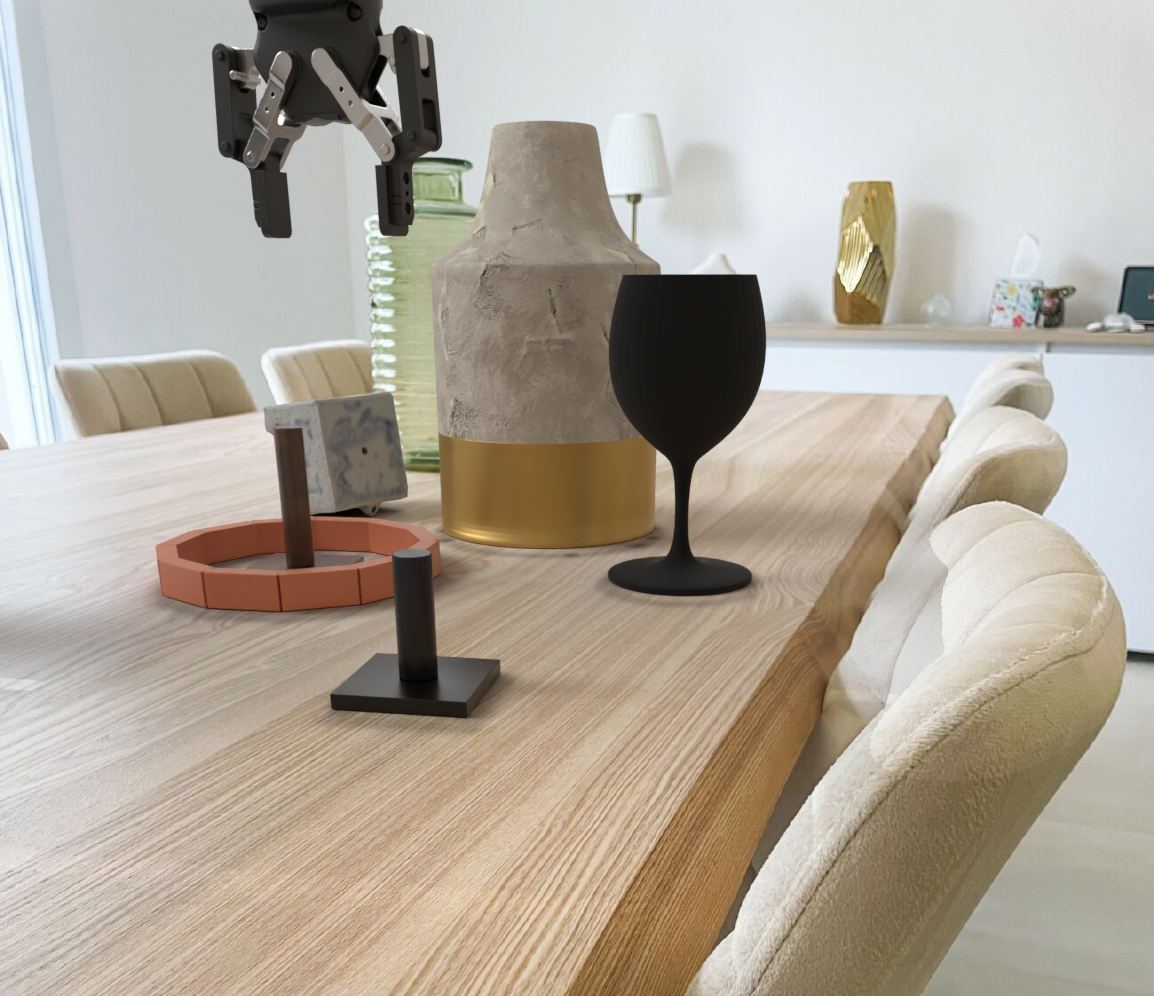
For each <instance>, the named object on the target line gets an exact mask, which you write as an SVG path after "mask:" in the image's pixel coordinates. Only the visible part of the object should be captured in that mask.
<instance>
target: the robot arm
mask: <svg viewBox="0 0 1154 996" xmlns="http://www.w3.org/2000/svg"><path fill="white" fill-rule="evenodd" d="M248 5H249V7H250V9H251V11H252V13H253V16H254V19H255V23H256V25H257V32H256V34H257V35H256V40H255V44H254V47H237V46H232V45H228V44H225V43H222V42H221V43H219V42H218V43H216V44H214V46H213V48H212V50H211V59H212V60H211V63H212V76H213V78H212V79H213V92H214V105H215V107H214V108H215V119H216V122H215V123H216V136H217V147H218V148H217V149H218V151H219V154H220V155H221V157H223V158H226V159H227V158H228V159H231V160H234V161H236V162H238V163H241V164H242V165H244V166H245V167H246V168H247V171H248V172H249V175H250V186H251V195H252V196H251V197H252V205H253V215H254V220H255V222H256V225H257V227H258V228H260V230H261V234H262V236H263V237H264V238H266V239H290V238H292V235H293V227H292V217H291V216H292V215H291V204H290V195H289V183H288V173H287V172H282V171H281V170H283V168H284V166H285V164H286V161H287V159H288V157H289V155H290V153H291V150H292V148H293V146H294V144H295V143H296V142H297V141H299V140H301V138H302V137H303V135H304V133H305V131H306V129H307V128H308V127H307V126H309V127H325V126H328V125H330V124H333V123H338V124H341V125H343V124H344V125H352V126H353V127H354V128H356V129H357V130H358V131H359V132H361V133H362V134H363V136H364V137H365V139H366V140H367V142H368V143H369V145H370V147H371V148H372V149H373V151H374V152H375V154H376V155H377V157H378V159H379V160H380V163H381V164H375V165H374V170H375V186H376V187H375V188H376V199H377V200H376V201H377V202H376V203H377V216H378V229H379V232H380V234H381V236H384V237H406V236H408V234H409V229H410V228H409V226H413V224H414V220H415V216H416V215H415V200H414V182H413V181H414V180H413V178H414V177H413V167H414V164H415V162H416V161H417V159H420V157H423V156H424V155H426V154H428V153H430V152H432V153H436V152H439V150H440V149H441V147H442V145H443V133H442V122H441V121H442V120H441V109H440V103H439V102H440V101H439V89H438V77H437V65H436V56H435V47H434V46H435V44H434V40H433V37H432V36H431V35H429V34H428V33H426V32H423V31H422V30H420V29H416V28H414V27H410V26H406V25H398V26H396V28H395V29H394V30H393V32H391V33H386V34H385V33H384V32H383V29H382V26H381V15H382V13H383V9H384V0H248ZM387 65H389V67H390V68H389V69H390V70H391V72H392V73H393V74H394V75H395V76H396V85H397V96H398V105H399V115H398V113H397V112H396V111H395V109H394V107H393V106H392V104H391V102H390V101H389V100H388V98H387V96H386V95H385V94H384V91H382V89H381V87H380V86H379V83H380V81H381V78H382V77H383V75H384V72H385V70H386V68H387ZM262 80H263V81H264V83H265V84H266V85H265V87H264V89H263V92H262V95H261V96H260V98H259V102H257V101H258V100H257V87H258V86H260V85H261V83H262ZM282 111H283V113H284V114H282ZM399 116H400V118H399ZM399 121H400V122H399ZM400 123H401V124H400Z"/></svg>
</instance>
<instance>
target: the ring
mask: <svg viewBox="0 0 1154 996" xmlns="http://www.w3.org/2000/svg"><path fill="white" fill-rule="evenodd" d="M311 524H312V535H313V546H314V551H317V550H318V551H339V552H340V551H341V552H343V551H345V552H365V553H366V552H367V553H374V554H380V555H384V556H383V557H378V558H374V559H370V560H366V561H365V560H364V562H360V563H356V564H351V565H343V566H330V567H318V568H305V569H292V570H259V569H245V568H235V567H233V568H232V567H231V568H230V567H214V566H212V564H216V563H220V562H227V561H231V560H235V559H241V558H246V557H250V556H255V555H265V554H266V555H267V554H274V553H286V552H285V543H284V533H283V523H282V517H281V518H267V519H266V518H265V519H251V520H244V521H238V522H232V523H228V524H227V523H226V524H221V525H215V526H209V527H205V528H203V527H202V528H199V529H198V528H197V529H193V530H188V531H187V532H185V533H182V534H179V535H177V536H175V537H172V538H170V539H167V540H165V541H163V542H160V543H157V544H156V545H155V546H154V547H155V554H156V563H157V570H158V576H159V577H158V578H159V584H160V591H161V596H164V597H167V598H171V599H174V600H177V601H181V602H184V603H188V604H191V605H195V606H198V607H200V608H201V607H202V608H204V609H206V608H207V609H218V610H238V611H239V610H241V611H258V612H259V611H262V612H281V611H282V612H293V611H294V612H295V611H305V610H315V609H325V608H336V607H348V606H359V605H365V604H370V603H373V602H378V601H381V600H385V599H389V598H394V587H393V572H392V556H391V555H392V553H393V552H396V551H399V550H406V549H422V550H427V551H430V552H431V553H432V564H433V579H435V578H436V577H437V576H438V575H440V574H441V572H442V566H441V547H440V546H441V545H440V543H441V542H440V539H439V538H438V537H437V536H436V535H434V534H433V533H432V532H431V531H430V530H428V529H427V528H426V527H424V526H421V525H417V524H411V523H405V522H399V521H395V520H388V519H383V518H376V517H349V516H319V515H318V516H315V515H311Z"/></svg>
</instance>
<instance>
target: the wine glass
mask: <svg viewBox="0 0 1154 996" xmlns="http://www.w3.org/2000/svg"><path fill="white" fill-rule="evenodd" d="M764 310H765V309H764V303H763V298H762V292H761V287H760V283H759V278H758V275H757V274H755V273H753V274H751V273H747V274H745V273H743V274H741V273H732V274H730V273H723V274H722V273H718V274H717V273H714V274H713V273H712V274H707V273H706V274H703V273H696V274H695V273H694V274H693V273H689V274H686V273H684V274H683V273H681V274H680V273H678V274H677V273H676V274H675V273H673V274H672V273H671V274H670V273H668V274H666V273H664V274H663V273H661V274H653V275H623V276H622V280H621V283H620V286H619V290H618V294H617V298H616V302H615V306H614V311H613V316H612V321H611V328H610V337H609V368H610V376H611V381H612V385H613V389H614V392H615V395H616V398H617V401H618V403H619V405H620V407H621V409H622V411H623V413H624V414H625V416H626V417H627V419H628V420H629V421H630V423H631V424H632V425H633V427H634V428H635V429H636V430H637V431H638V432H639V433H640V434H641V435H642V436H643V437H644V438H645V439H646V440H647V441H648V442H649V443H650V444H651V445H652V446H653V447H654V448H656V451H658V452H659V453H660V454H661V455H663V456H664V457H665V458H666V459H667V460H668V461H669V463H670V466H671V468H672V475H673V483H674V520H673V521H674V524H673V532H672V541H671V546H670V548H669V551H668V552H667V554H666V555H659V556H658V555H656V556H655V555H654V556H646V557H640V558H639V557H638V558H632V559H629V560H624V561H621V562H618V563H615V564H614V565H612V566H611V567H610V568H609V569H608V572H607V579H608V580H609V581H610V582H611V583H612V584H614V585H615V586H618V587H621V588H623V589H627V590H630V591H634V592H640V593H647V594H654V595H665V596H704V595H714V594H722V593H723V594H724V593H727V592H728V593H729V592H733V591H736V590H740V589H742V588H744V587H746V586H748V585H749V584H750V583H751V582H752V579H753V575H752V571H751V570H750V569H749V568H748V567H746V566H744V565H741V564H739V563H736V562H733V561H729V560H725V559H719V558H714V557H713V558H712V557H708V556H707V557H705V556H696V555H694V554H693V552H692V550H691V545H690V538H689V508H690V493H691V485H692V478H693V473H694V469H695V466H696V465H697V463H698V461H699V460H701V458H703V457H704V456H706V455H707V453H709V452H710V451H711V450H713V449H714V448H715V447H717V445H719V444H720V443H721V442H722V441H724V440H725V439H726V438H727V437H728V436H729V435H730V434H731V433H732V432H733V431H734V430H735V429H736V428H737V427H738V425H740V423H741V422H742V421H743V420H744V418H745V416H746V415H747V414H748V412H749V411H750V409H751V407H752V405H753V404H754V401H756V398H757V395H758V392H759V390H760V387H761V383H762V379H763V376H764V372H765V366H766V365H765V364H766V357H767V356H766V355H767V327H766V316H765V311H764Z"/></svg>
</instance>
